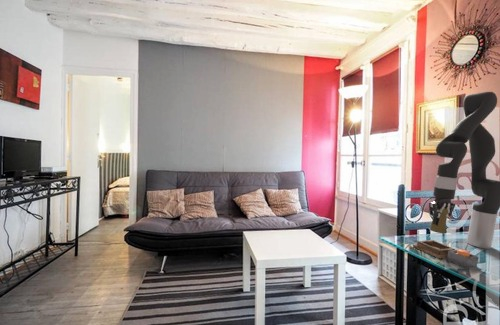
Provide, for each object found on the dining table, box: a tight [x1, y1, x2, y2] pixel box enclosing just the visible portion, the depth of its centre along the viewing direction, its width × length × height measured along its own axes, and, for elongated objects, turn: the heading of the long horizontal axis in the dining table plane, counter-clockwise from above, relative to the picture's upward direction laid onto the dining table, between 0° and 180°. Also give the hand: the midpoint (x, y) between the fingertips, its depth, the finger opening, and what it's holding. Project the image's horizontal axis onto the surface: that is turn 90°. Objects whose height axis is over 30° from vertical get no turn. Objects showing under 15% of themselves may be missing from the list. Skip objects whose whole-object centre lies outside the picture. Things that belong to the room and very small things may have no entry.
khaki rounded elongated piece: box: [429, 208, 449, 234], centre depth 116 cm, size 6×6×11 cm
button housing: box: [446, 249, 479, 269], centre depth 107 cm, size 7×7×4 cm
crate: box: [412, 239, 456, 259], centre depth 117 cm, size 12×12×3 cm
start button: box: [456, 248, 471, 257], centre depth 107 cm, size 4×4×3 cm
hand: (438, 225), depth 116 cm, fingers closed on khaki rounded elongated piece, 4 cm apart
